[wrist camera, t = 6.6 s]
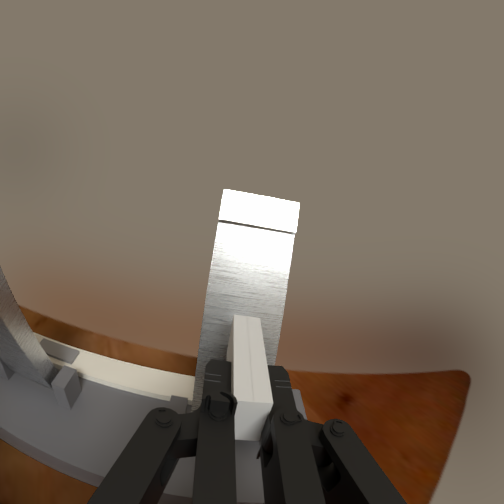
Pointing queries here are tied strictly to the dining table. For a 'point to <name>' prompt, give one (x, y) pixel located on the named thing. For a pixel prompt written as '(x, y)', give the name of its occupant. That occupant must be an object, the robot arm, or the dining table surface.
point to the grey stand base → (106, 418)
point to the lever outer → (246, 274)
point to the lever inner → (21, 342)
